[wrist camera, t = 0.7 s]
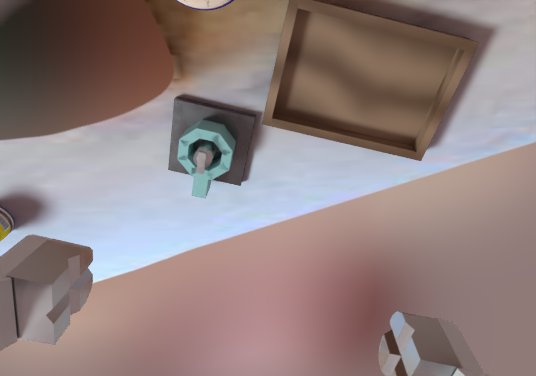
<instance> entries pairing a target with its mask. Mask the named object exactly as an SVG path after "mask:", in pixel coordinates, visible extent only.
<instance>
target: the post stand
mask: <svg viewBox="0 0 536 376" xmlns="http://www.w3.org/2000/svg"><path fill="white" fill-rule="evenodd" d="M255 116H256V115H253V114H248V113H244V112H240V111H236V110H231V109H227V108H223V107H218V106H214V105H210V104H206V103H201V102H197V101H193V100H188V99H184V98H180V97H176V98H175V99H174V110H173V122H172V133H171V145H170V156H169V168H168V170H171V171H176V172H180V173H185V174H189V173H188V171H187V170H186V169H185V168H184V166H183V165H182V164H181V163H180V162H179V160H178V159H177V157H178V147H179V139H180V137H181V136H182V135H183V133H184V132H185V130H186V129H188V128H190V127H191V126H193V125H194V124H196V123H197V122H199V121H201V120H202V119H203V120H207V121H211V122H216V123H220V124H224V126H225V127H226V128H227V130H228V131H229V133H230V134H231V135H232V137H233V138H234V139H235V141H236V144H235V149H234V154H233V159H232V163H231V166H230V169H229V171H227V172H225V173H223V174H222V175H220V176H218V177H216V178H214V179H213V180H216V181H221V182H225V183H230V184H234V185H239V186H241V182H242V177H243V173H244V168H245V163H246V158H247V154H248V149H249V144H250V139H251V135H252V130H253V125H254V120H255ZM193 148H194V149H195V150H196V153H195V154H194V157H193V160H194V163H195V164H196V165H197V170H196V173H199V174H204V171H205V167H208V166H209V165H210V164H211V162H212V160H215V159H217V158H219V157H221V156H222V152H221V151H220V149H219V148H218V147H217V145H216V144H215V143H214V142H213V141H209V140H204V139H198V140H196V141H195V142H194V145H193ZM189 175H190V174H189Z"/></svg>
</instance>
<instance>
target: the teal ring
mask: <svg viewBox="0 0 536 376" xmlns="http://www.w3.org/2000/svg"><path fill="white" fill-rule="evenodd" d="M198 139H204V140H209V141H213V142H214V143H215V144H216V145H217V147H218V148H219V149H220V151H221V152H222V156H221V157H219V158H217V159H215V160H212V162H211V164H210V165H209V166H208V167H205V171H204V174H199V173H196V170H197V165H196V164H195V163H194V160H193V157H194V154H195V153H196V150H195V149H194V148H193V145H194V142H195V141H196V140H198ZM235 144H236V141H235V139H234V138H233V137H232V135H231V134H230V133H229V131H228V130H227V128H226V127H225V126H224V124H220V123H216V122H211V121H207V120H203V119H202V120H201V121H199V122H197V123H196V124H194V125H193V126H191V127H190V128H188V129H186V130H185V132H184V133H183V135H182V136H181V137H180V139H179V147H178V157H177V159H178V160H179V162H180V163H181V164H182V165H183V166H184V168H185V169H186V170H187V171H188V173H189V174H190V175H191V176H194V183H193V190H192V196H196V197H200V198H206V196H207V193H208V191H209V188H210V183H211V180H213V179H214V178H216V177H218V176H220V175H222V174H223V173H225V172H227V171H229V169H230V166H231V163H232V159H233V154H234V149H235Z"/></svg>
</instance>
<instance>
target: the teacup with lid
mask: <svg viewBox="0 0 536 376" xmlns="http://www.w3.org/2000/svg"><path fill="white" fill-rule="evenodd" d="M176 1H178V2H180V3H181V4H183V5H185V6H187V7H190V8H193V9H198V10H214V9H218V8H221V7H224V6H226V5H228V4H229V3H231V2H232V1H234V0H176Z"/></svg>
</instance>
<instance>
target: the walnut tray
mask: <svg viewBox="0 0 536 376" xmlns="http://www.w3.org/2000/svg"><path fill="white" fill-rule="evenodd" d="M478 44H479V42H476V41H473V40H471V39H468V38H464V37H460V36H456V35H452V34H448V33H444V32H440V31H436V30H432V29H428V28H424V27H420V26H416V25H412V24H408V23H405V22H401V21H397V20H393V19H389V18H385V17H381V16H377V15H373V14H369V13H365V12H361V11H357V10H353V9H349V8H345V7H342V6H338V5H334V4H330V3H326V2H322V1H318V0H289V4H288V9H287V13H286V18H285V22H284V27H283V31H282V36H281V40H280V45H279V49H278V54H277V58H276V63H275V67H274V72H273V76H272V81H271V85H270V90H269V94H268V99H267V103H266V108H265V112H264V117H263V121H262V124H264V125H268V126H272V127H276V128H281V129H285V130H289V131H294V132H298V133H302V134H307V135H311V136H315V137H320V138H324V139H328V140H333V141H337V142H341V143H345V144H350V145H354V146H358V147H363V148H367V149H371V150H376V151H380V152H384V153H389V154H393V155H397V156H401V157H406V158H410V159H414V160H419V161H421V160H422V158H423V156H424V154H425V152H426V150H427V147H428V145H429V143H430V141H431V139H432V137H433V135H434V133H435V131H436V129H437V127H438V125H439V123H440V121H441V119H442V117H443V115H444V113H445V111H446V109H447V107H448V105H449V103H450V101H451V99H452V97H453V95H454V93H455V91H456V89H457V87H458V85H459V82H460V80H461V78H462V76H463V74H464V72H465V70H466V68H467V66H468V64H469V62H470V60H471V58H472V56H473V54H474V52H475V50H476V48H477V46H478Z"/></svg>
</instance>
